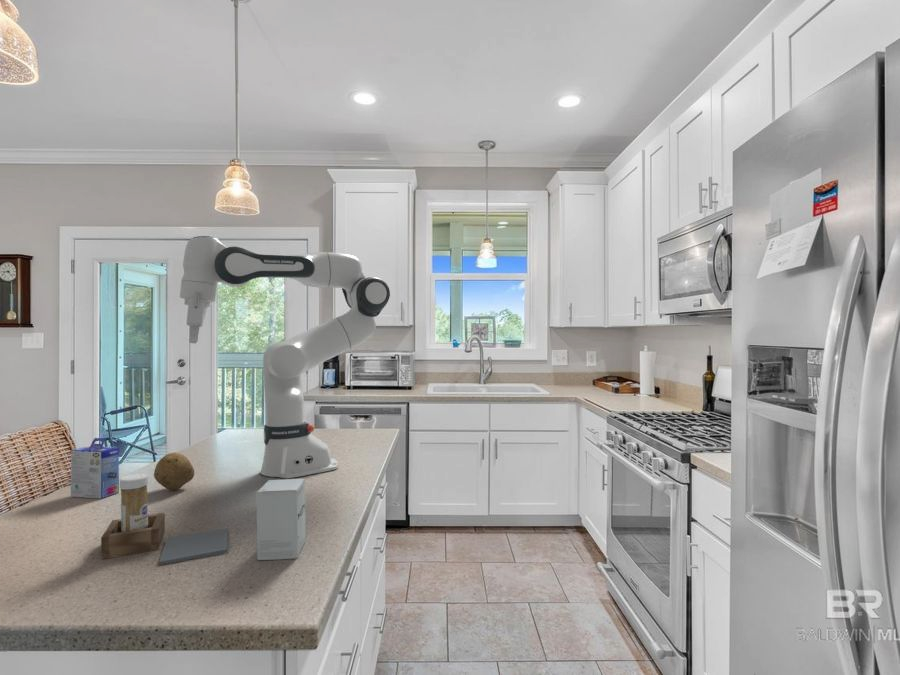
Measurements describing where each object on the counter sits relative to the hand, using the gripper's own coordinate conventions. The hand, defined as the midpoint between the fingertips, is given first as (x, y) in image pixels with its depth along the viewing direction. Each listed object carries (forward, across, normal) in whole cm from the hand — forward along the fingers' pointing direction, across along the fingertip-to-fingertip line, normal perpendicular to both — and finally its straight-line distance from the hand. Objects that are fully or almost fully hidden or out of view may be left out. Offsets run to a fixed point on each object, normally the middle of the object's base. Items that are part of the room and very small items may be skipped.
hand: (193, 342), depth 131 cm
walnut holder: (+39, -40, +6) cm, 56 cm away
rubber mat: (+38, -47, -5) cm, 60 cm away
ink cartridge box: (+42, +1, +19) cm, 46 cm away
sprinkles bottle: (+40, -40, +6) cm, 56 cm away
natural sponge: (+40, -5, +1) cm, 40 cm away
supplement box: (+37, -57, -20) cm, 70 cm away
